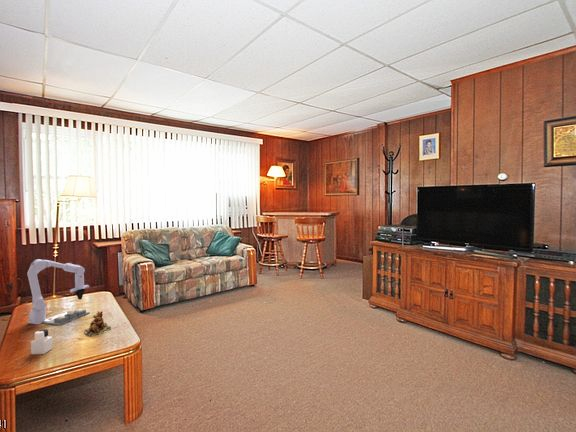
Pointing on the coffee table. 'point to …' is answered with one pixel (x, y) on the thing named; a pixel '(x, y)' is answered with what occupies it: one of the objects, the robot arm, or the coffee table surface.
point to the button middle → (70, 312)
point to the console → (56, 321)
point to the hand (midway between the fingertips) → (80, 299)
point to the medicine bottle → (41, 342)
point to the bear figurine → (97, 325)
